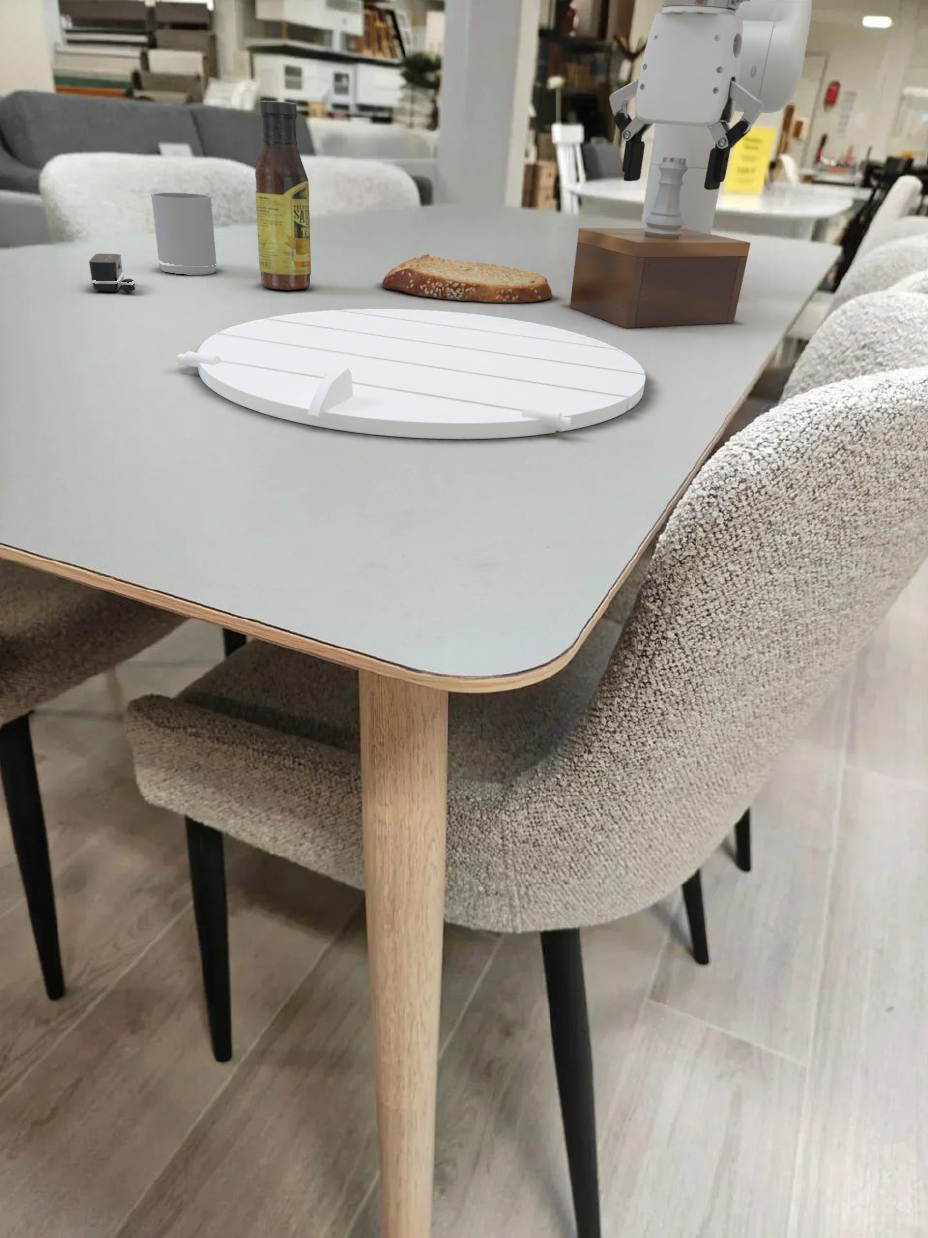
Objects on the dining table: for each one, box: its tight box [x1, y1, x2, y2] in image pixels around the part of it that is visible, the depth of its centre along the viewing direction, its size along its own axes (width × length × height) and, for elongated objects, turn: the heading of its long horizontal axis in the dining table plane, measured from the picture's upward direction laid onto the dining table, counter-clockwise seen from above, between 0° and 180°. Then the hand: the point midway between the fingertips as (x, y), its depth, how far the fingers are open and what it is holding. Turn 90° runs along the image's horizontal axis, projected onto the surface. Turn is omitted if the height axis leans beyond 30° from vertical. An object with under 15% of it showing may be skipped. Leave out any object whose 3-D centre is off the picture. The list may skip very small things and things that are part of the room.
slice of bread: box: [381, 253, 553, 304], centre depth 110 cm, size 18×18×4 cm
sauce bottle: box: [254, 100, 312, 291], centre depth 102 cm, size 6×6×20 cm
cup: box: [150, 192, 217, 276], centre depth 112 cm, size 7×10×9 cm
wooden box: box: [569, 227, 751, 329], centre depth 103 cm, size 12×16×9 cm
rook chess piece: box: [644, 157, 688, 238], centre depth 98 cm, size 4×4×8 cm
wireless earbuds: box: [88, 253, 136, 293], centre depth 99 cm, size 5×7×3 cm, turn 13°
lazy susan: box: [176, 308, 647, 440], centre depth 76 cm, size 40×39×3 cm
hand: (670, 184), depth 97 cm, fingers open, 9 cm apart
